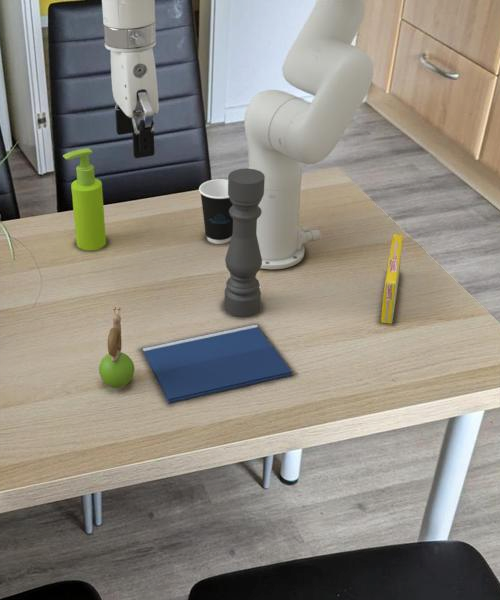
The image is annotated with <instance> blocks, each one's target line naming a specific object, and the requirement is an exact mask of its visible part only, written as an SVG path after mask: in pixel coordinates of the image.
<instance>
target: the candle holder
mask: <svg viewBox="0 0 500 600" xmlns="http://www.w3.org/2000/svg"><path fill="white" fill-rule="evenodd" d="M227 177H228V179H227V180H228V196H229V197H230V201H231V202H232V205H233V206H232V207H231V208H230V209H229V213H230V216H231V217H232V218H233V234H232V236H231V240H230V241H229V245H228V248H227V251H226V255H225V259H224V260H225V262H224V263H225V267H226V269H227V271H228V272H229V276H230V277H229V278H227V280H226V283H225V286H226V287H225V288H224V295H223V297H224V299H223V300H224V301H223V306H224V307H223V308H224V310H225V311H226V312H227V314H229V315H231V316H233V317H237V318H238V317H239V318H248V317H252V316H255V315H256V314H258V313H259V311H260V309H261V299H262V298H261V297H262V296H261V295H262V292H261V288H260V286H261V285H260V281H259V279H258V278H257V277H256V276H257V273H258V272H260V269H261V268H260V267H261V265H262V258H261V253H260V249H259V244H258V239H257V235H256V231H257V219H258V218H259V217H260V215H261V213H262V211H261V208H260V207H259V206H258V205H259V203H260V201H261V200H262V197H263V195H264V181H265V176H264V174H263V173H262V172H261V171H258V170H255V169H248V167H247V168H237V169H234V170H232V171H230V172H229V174H228V176H227Z"/></svg>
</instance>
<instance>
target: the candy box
mask: <svg viewBox="0 0 500 600" xmlns="http://www.w3.org/2000/svg"><path fill="white" fill-rule="evenodd" d="M391 236H392V237H391V244H390V250H389V255H388V262H387V268H386V274H385V281H384V287H383V296H382V305H381V315H380V316H381V318H380V322H381V323H382V324H391V325H392V324H393V320H394V314H395V307H396V301H397V296H398V295H397V294H398V287H399V280H400V272H401V264H402V252H403V243H404V242H403V241H404V235H403V234H397V233H393V234H392V235H391Z"/></svg>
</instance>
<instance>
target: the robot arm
mask: <svg viewBox="0 0 500 600" xmlns="http://www.w3.org/2000/svg"><path fill="white" fill-rule="evenodd" d="M101 7H102V8H101V9H102V21H103V22H102V25H103V38H104V48H105V49H106V50H107V51H110V78H111V91H112V96H113V97H112V98H113V99H114V107H115V111H114V112H115V113H114V114H115V127H116V129H115V131H116V134H117V135H119V136H121V135H122V136H123V135H128V134H132V150H133V151H132V153H133V157H134V159H141V158H146V157H153V156H154V155H155V126H154V125H155V122H154V120H153V119H154V115H157V114H158V113H159V112H160V111H159V110H160V105H159V92H158V91H159V90H158V79H157V69H156V60H155V54H154V50H153V48H154V47H155V46H156V44H157V35H156V33H157V32H156V3H155V0H101ZM365 12H366V0H316V1H315V4H314V6H313V8H312V10H311V12H310V14H309V16H308V18H307V19H306V20H305V23H304V24H303V26H302V28H301V30H300V31H299V33H298V34H297V37H296V39H295V40H294V41H293V43H292V44H291V46H290V49H289V51H288V52H287V55H286V56H285V58H284V60H283V61H284V62H283V64H282V76H283V78H284V80H285V81H286V82H287V83H288V84H289V85H290V86H292V87H294V88H296V89H298V90H300V91H302V92H305V93H307V94H309V95H312V96H314V97H313V99H312V101H311V102H310V101H308V100H305V99H304V98H301V97H300V96H296V95H294V94H292V93H289V92H287V91H284V90H280V89H279V90H278V89H266V90H263V91H260V92H259V93H256V95H255V96H253V97H252V98H251V100H250V101H249V103H248V105H247V107H246V109H245V112H244V118H243V119H244V120H243V124H244V125H243V126H244V134H245V139H246V146H247V155H248V156H247V157H248V167H247V168H248V169H255V170H258V171H261V172H262V173H263V174H264V176H265V181H264V195H263V197H262V200H261V201H260V203H259V205H258V206H259V207H260V208H261V211H262V213H261V215H260V217H259V218H258V219H257V231H256V235H257V239H258V244H259V249H260V253H261V258H262V265H261V267H260V269H262V270H283V269H288V268H290V267H293V266H295V265H297V264H299V263H300V262H302V260H303V259H304V258H305V257H304V256H305V246H304V245H305V244H307V242H313V241H317V240H318V241H319V240H321V239H322V232H321V230H320V229H315V230H314V229H313V230H310V229H309V226H307V225H305V226H301V227H299V218H300V217H299V215H300V205H301V204H300V203H301V189H302V179H303V164H306V165H315V164H318V163H320V162H322V161H323V160H325V159H326V158H327V157H328V156H329V155H330V154H331V153H332V151H333V150H334V149H335V148H336V146H337V144H338V143H339V141H340V139H341V138H342V137H343V135H344V133H345V132H346V130H347V129H348V127H349V125H350V123H351V122H352V120H353V118H354V117H355V116H356V113H357V112H358V110H359V109H360V107H361V105H362V104H363V102H364V100H365V99H366V96H367V94H368V93H369V90H370V88H371V85H372V82H373V76H374V64H373V60H372V58H371V56H370V55H369V54H368V52H366V51H365V50H364V49H362V48H360V47H359V46H356V45H353V44H352V43H353V41H354V40H355V37H356V35H357V34H358V32H359V30H360V29H361V26H362V24H363V21H364V18H365V15H366V14H365ZM138 119H140V120H138Z"/></svg>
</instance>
